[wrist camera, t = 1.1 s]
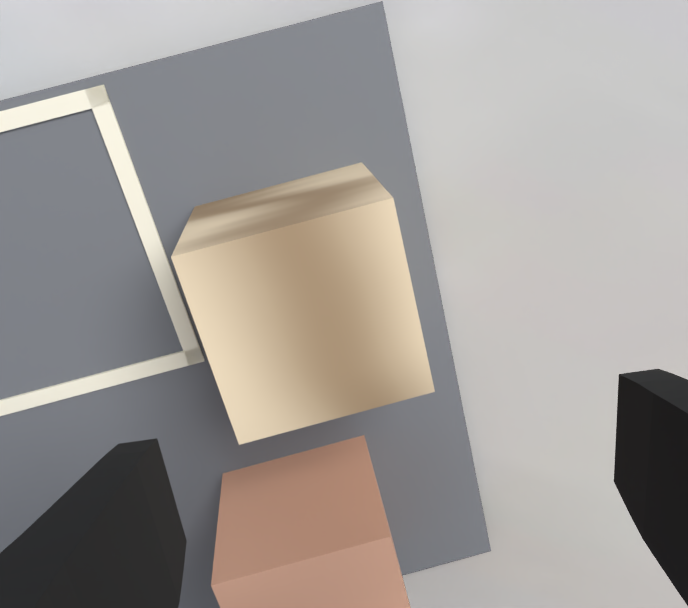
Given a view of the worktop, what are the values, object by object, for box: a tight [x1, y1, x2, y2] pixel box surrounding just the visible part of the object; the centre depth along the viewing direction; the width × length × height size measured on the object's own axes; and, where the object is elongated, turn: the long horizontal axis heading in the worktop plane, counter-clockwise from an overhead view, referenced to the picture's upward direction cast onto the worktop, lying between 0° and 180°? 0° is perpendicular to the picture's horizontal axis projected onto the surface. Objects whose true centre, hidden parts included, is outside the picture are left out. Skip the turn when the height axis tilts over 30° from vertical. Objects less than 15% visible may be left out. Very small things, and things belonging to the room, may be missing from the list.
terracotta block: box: [211, 435, 410, 608], centre depth 21 cm, size 5×5×5 cm
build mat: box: [0, 1, 491, 608], centre depth 21 cm, size 19×20×1 cm
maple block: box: [171, 162, 435, 445], centre depth 17 cm, size 5×5×5 cm
